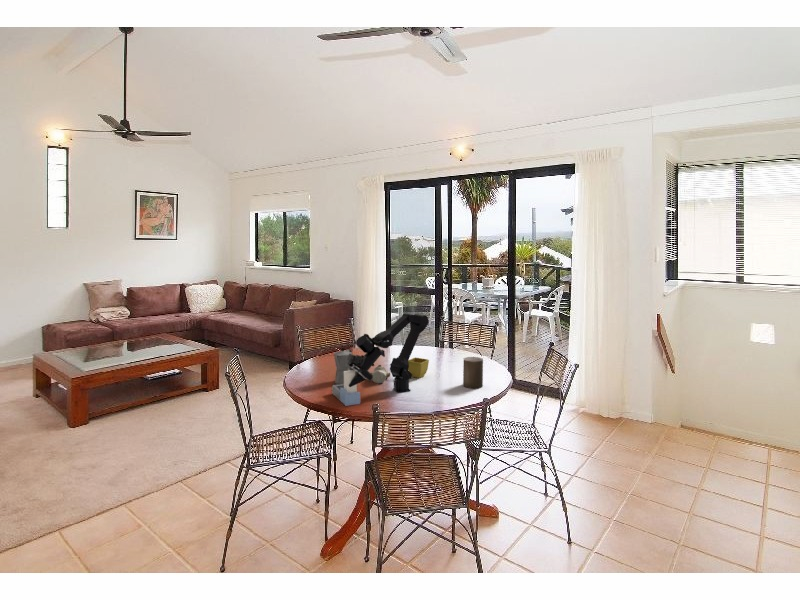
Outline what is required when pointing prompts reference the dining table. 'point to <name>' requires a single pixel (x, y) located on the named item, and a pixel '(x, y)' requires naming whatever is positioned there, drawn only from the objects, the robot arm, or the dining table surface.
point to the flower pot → (418, 367)
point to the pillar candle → (473, 372)
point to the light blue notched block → (349, 397)
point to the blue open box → (337, 390)
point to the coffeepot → (341, 364)
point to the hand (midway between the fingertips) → (347, 385)
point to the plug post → (347, 379)
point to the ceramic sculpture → (380, 374)
